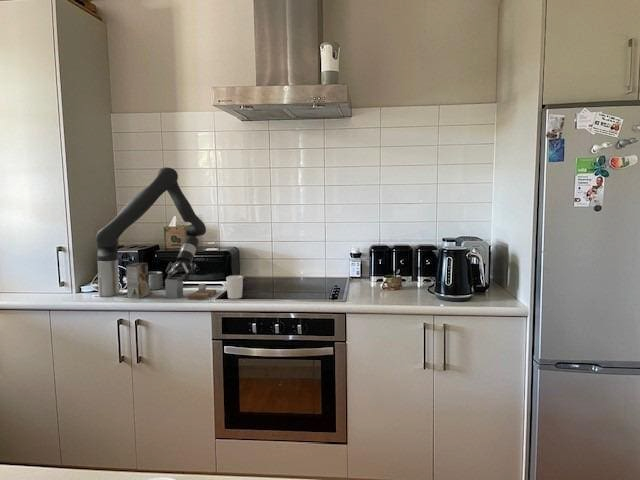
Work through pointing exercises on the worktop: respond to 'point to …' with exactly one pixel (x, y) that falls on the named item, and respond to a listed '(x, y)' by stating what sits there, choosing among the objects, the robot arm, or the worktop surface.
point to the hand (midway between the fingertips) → (176, 280)
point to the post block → (202, 293)
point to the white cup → (234, 286)
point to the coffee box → (137, 280)
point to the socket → (174, 287)
